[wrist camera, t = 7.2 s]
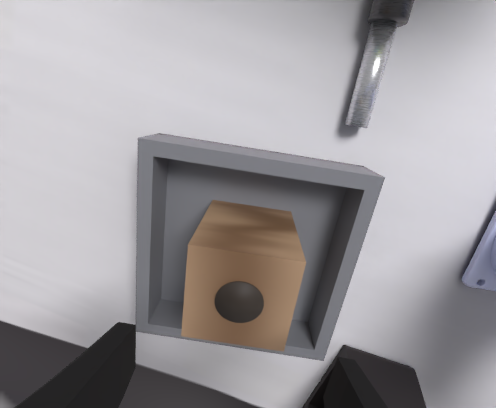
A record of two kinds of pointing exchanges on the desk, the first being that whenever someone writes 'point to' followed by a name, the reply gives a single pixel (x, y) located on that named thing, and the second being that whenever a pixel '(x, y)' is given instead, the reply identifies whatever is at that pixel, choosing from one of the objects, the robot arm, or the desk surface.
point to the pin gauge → (376, 56)
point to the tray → (255, 194)
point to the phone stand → (377, 380)
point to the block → (242, 276)
